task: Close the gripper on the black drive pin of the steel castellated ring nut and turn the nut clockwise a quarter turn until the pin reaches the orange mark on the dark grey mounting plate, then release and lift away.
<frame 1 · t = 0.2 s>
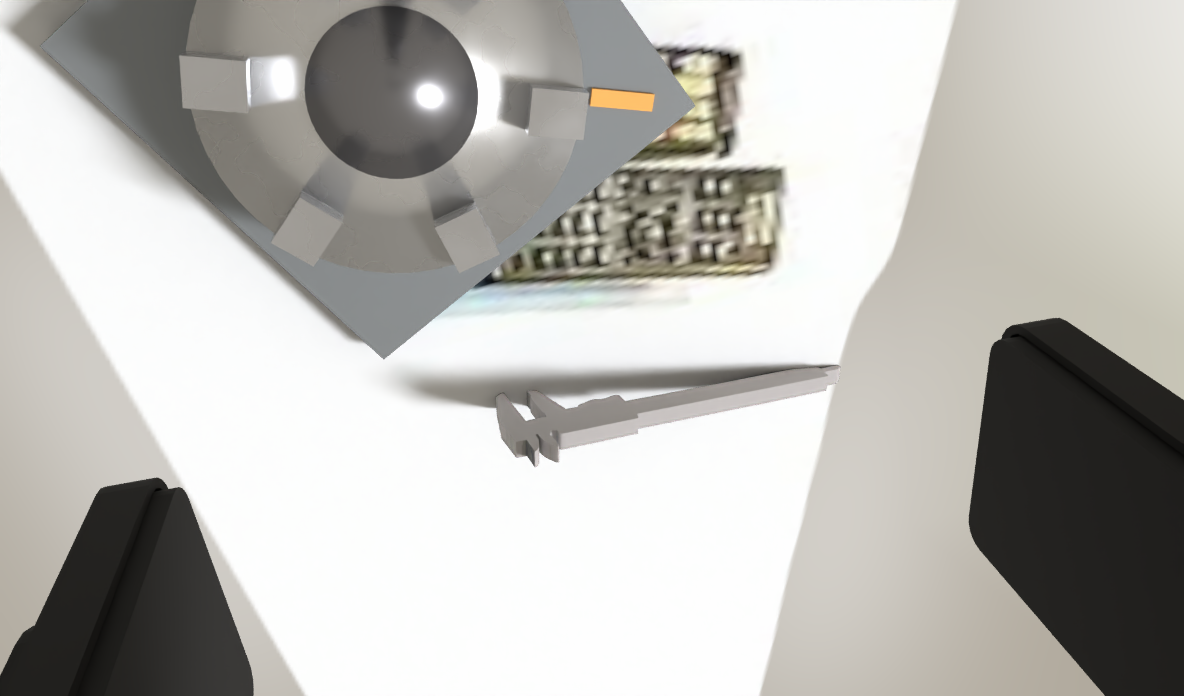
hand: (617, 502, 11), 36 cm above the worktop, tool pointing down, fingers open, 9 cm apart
ring nut: (393, 106, 37), point 7 cm above the worktop, hinge at 0.0°
caliper: (670, 382, 54), on the worktop
mount plate: (392, 71, 43), on the worktop
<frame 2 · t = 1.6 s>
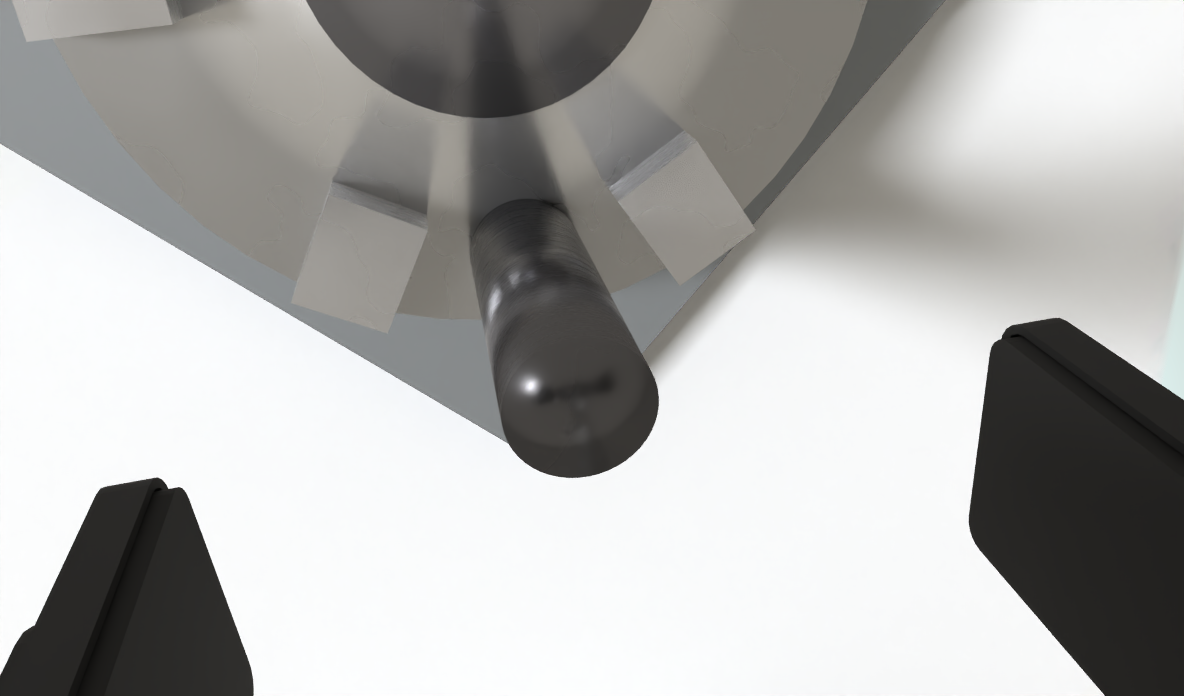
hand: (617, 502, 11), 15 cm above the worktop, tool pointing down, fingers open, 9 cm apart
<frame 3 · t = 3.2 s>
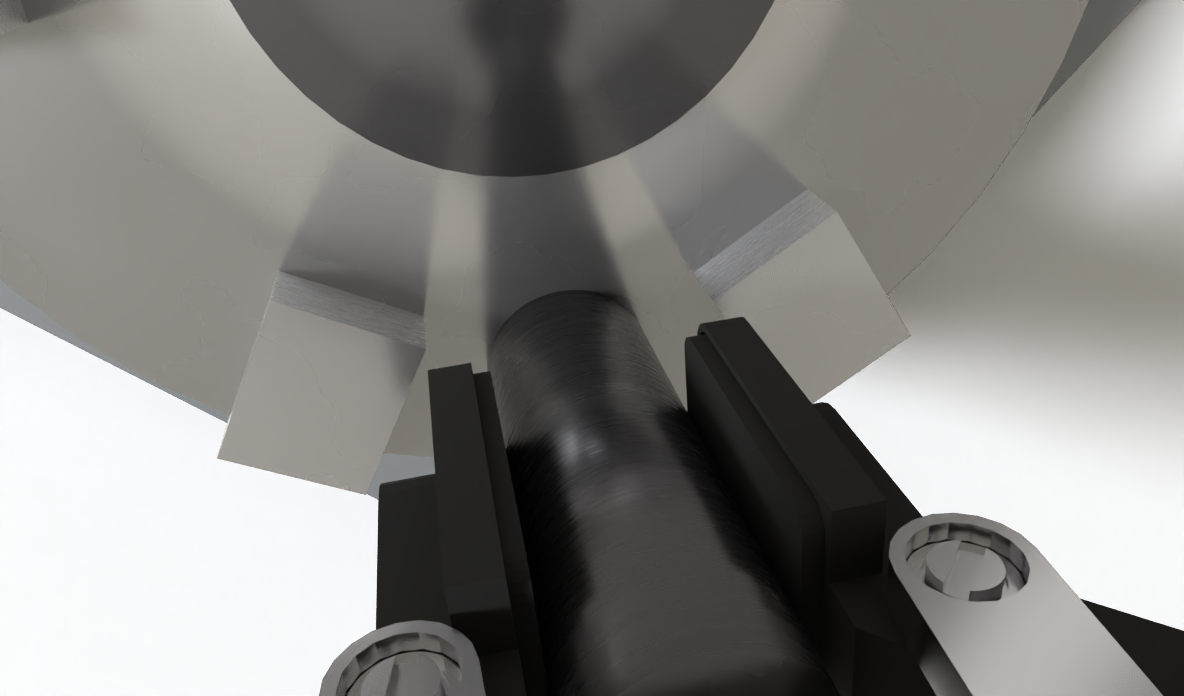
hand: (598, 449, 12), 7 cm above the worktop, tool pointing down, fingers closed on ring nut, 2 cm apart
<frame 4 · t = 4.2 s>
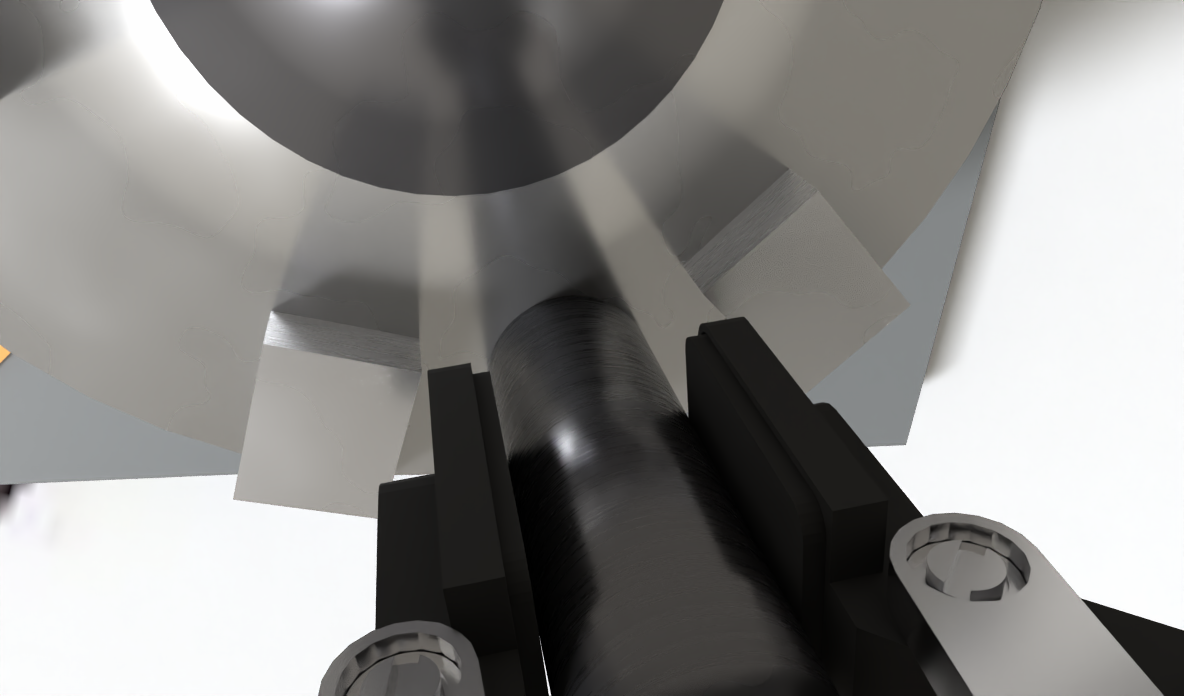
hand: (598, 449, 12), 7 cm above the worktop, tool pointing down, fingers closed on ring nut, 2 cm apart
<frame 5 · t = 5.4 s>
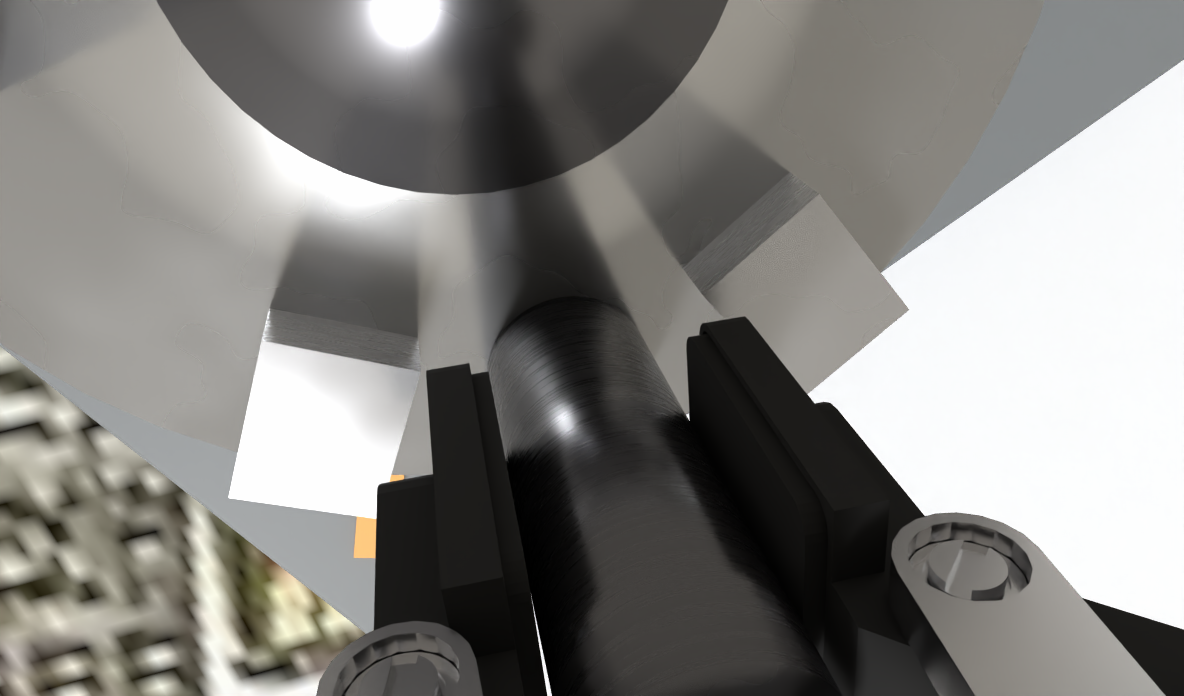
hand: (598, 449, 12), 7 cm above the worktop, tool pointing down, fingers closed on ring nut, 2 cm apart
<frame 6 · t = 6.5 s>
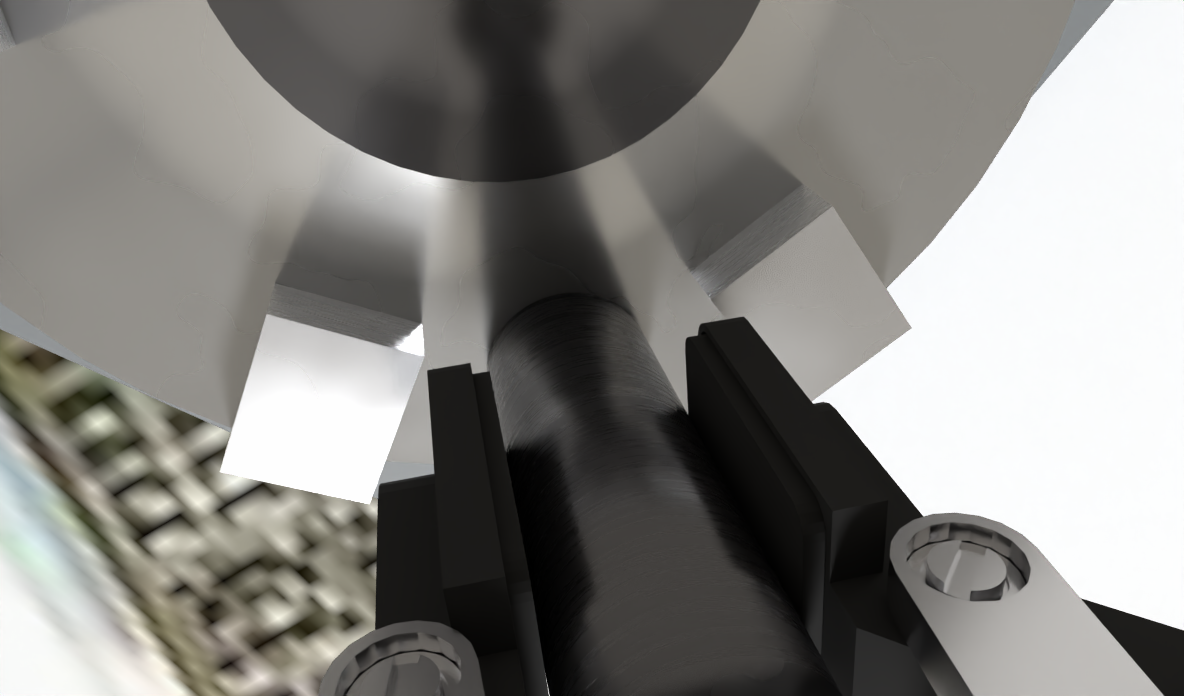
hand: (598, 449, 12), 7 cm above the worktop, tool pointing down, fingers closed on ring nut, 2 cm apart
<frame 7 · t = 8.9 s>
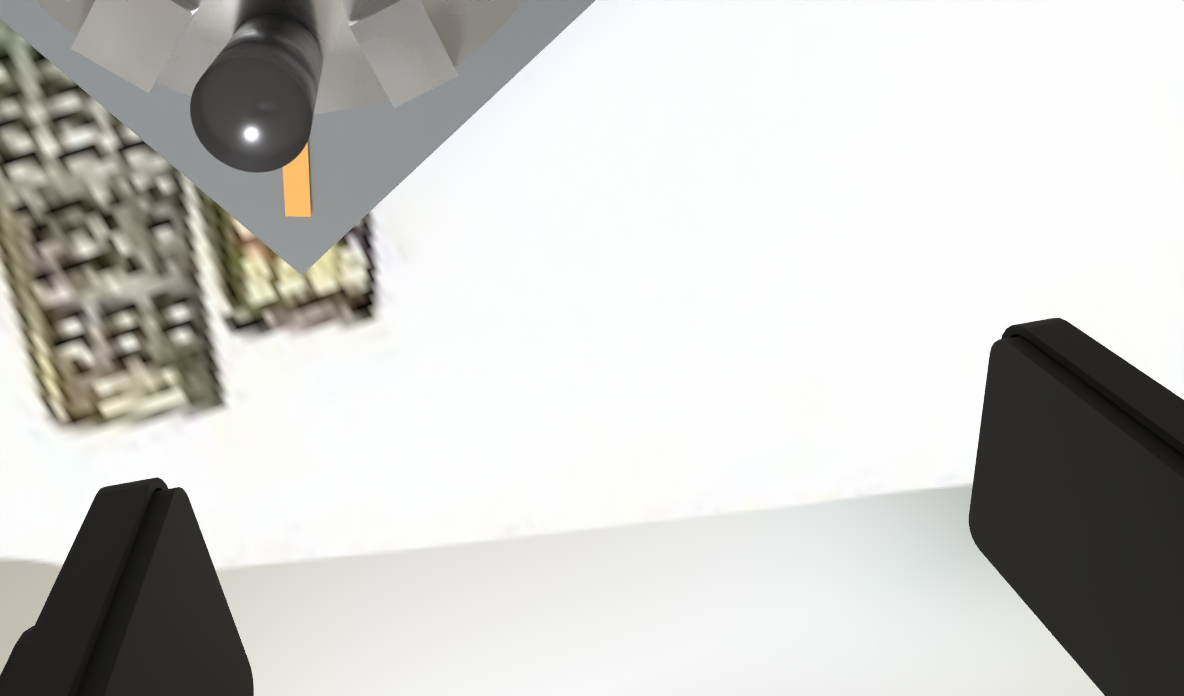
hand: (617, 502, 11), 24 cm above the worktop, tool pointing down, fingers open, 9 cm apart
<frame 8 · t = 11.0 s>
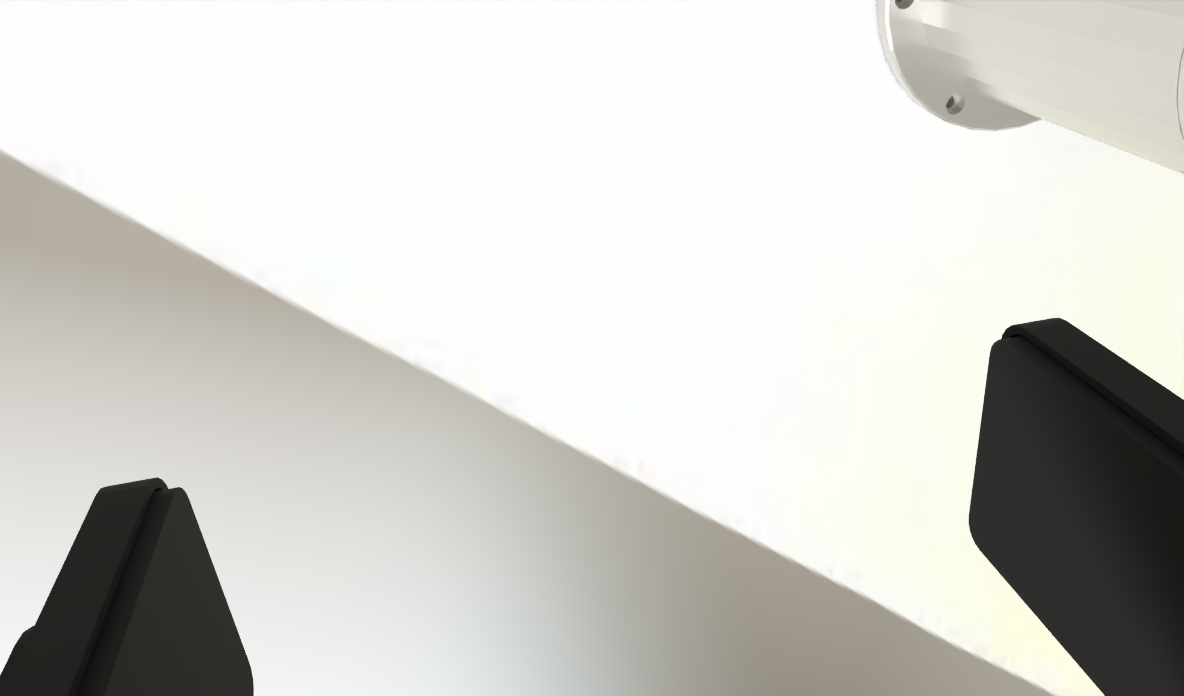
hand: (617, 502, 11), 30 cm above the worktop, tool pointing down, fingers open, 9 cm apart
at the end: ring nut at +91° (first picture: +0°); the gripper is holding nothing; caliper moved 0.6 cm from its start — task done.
